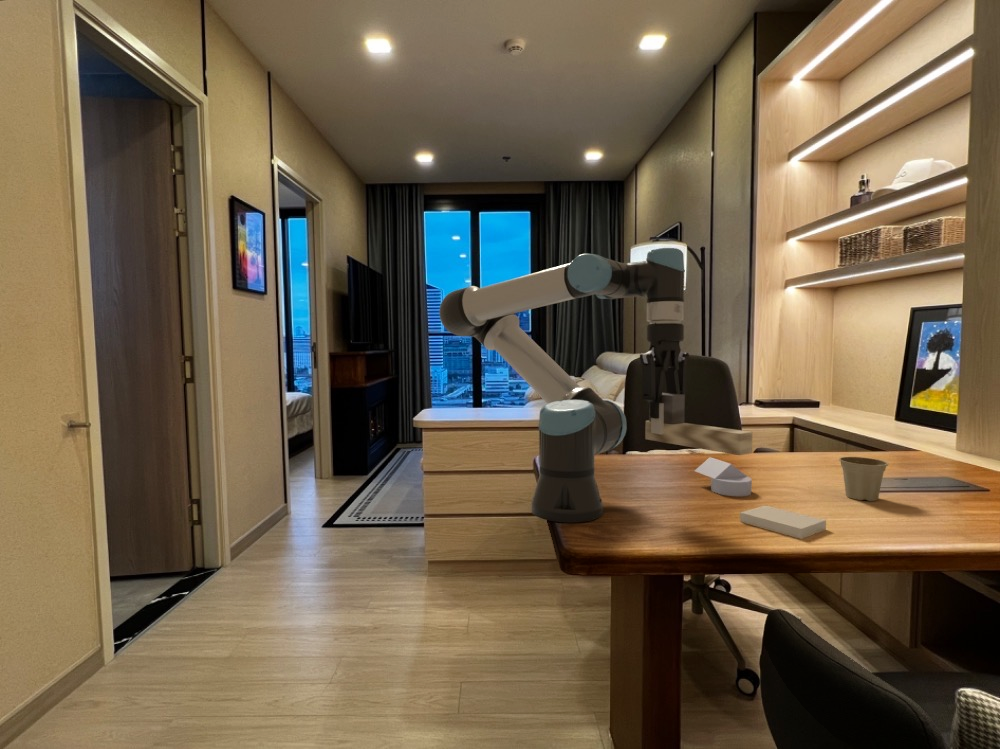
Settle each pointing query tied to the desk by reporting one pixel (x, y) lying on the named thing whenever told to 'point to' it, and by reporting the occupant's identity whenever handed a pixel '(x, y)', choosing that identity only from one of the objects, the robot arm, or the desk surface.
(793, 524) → the tile
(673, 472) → the desk surface
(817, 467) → the desk surface
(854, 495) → the flower pot
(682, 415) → the bar
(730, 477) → the wedge on round base
